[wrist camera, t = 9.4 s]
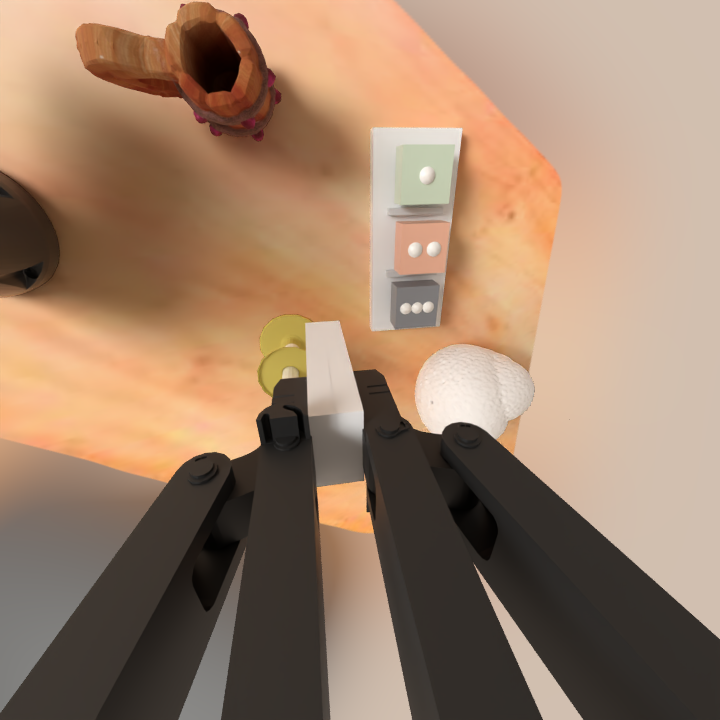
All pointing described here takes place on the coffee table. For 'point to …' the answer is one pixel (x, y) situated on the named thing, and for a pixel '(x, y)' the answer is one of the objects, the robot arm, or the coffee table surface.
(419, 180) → the tile sage
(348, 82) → the coffee table surface
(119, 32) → the mug
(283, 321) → the candle
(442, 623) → the robot arm
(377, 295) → the board
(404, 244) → the tile terracotta
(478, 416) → the white rounded lump
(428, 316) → the tile charcoal
